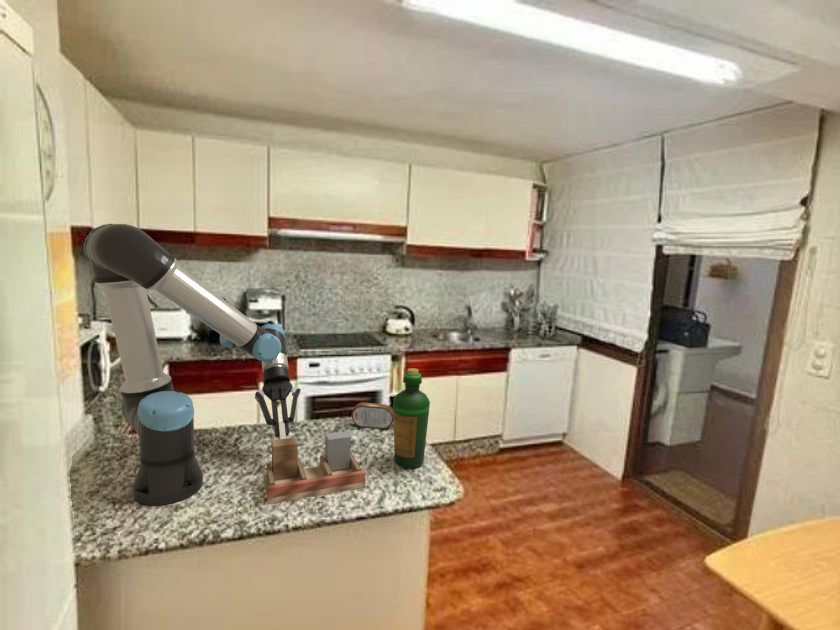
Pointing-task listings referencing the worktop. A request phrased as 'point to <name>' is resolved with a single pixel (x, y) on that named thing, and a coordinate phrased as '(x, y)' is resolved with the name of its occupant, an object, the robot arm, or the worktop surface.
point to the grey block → (337, 450)
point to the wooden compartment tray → (313, 481)
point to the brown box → (284, 458)
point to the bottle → (410, 422)
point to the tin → (373, 415)
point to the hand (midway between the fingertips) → (283, 446)
